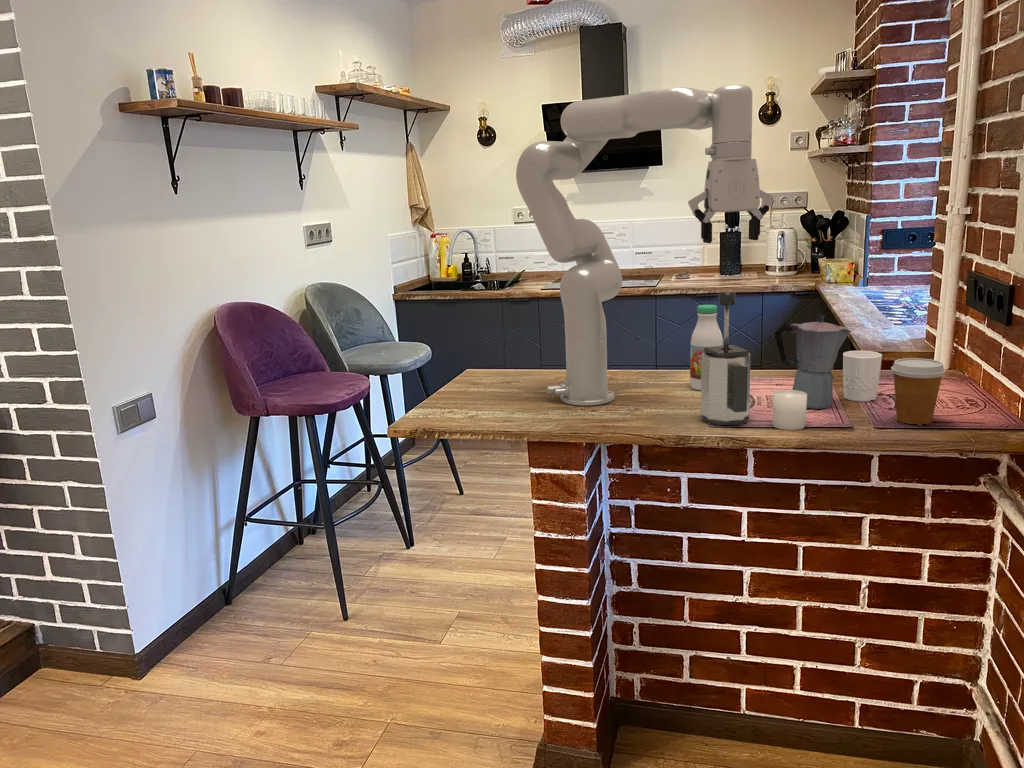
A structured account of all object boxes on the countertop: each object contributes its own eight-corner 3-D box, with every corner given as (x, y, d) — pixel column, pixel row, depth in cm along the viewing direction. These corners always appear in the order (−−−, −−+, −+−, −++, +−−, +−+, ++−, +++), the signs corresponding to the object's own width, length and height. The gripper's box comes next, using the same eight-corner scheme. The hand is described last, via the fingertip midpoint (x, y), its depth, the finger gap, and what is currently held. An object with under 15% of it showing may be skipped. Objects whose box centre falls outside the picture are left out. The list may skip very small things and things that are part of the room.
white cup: (873, 393, 181) (876, 350, 179) (883, 402, 174) (886, 357, 171) (837, 393, 183) (839, 350, 180) (845, 402, 175) (847, 358, 173)
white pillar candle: (782, 431, 157) (783, 399, 156) (766, 422, 164) (767, 391, 162) (812, 428, 159) (813, 395, 157) (794, 419, 165) (795, 388, 163)
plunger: (717, 363, 160) (719, 295, 157) (703, 357, 166) (704, 291, 163) (749, 360, 161) (750, 292, 158) (733, 354, 168) (734, 289, 164)
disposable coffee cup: (878, 421, 161) (882, 363, 158) (902, 411, 166) (906, 355, 163) (926, 431, 153) (931, 370, 151) (949, 420, 159) (954, 362, 156)
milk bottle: (688, 383, 197) (689, 303, 193) (720, 383, 196) (722, 302, 192) (691, 391, 190) (691, 308, 185) (724, 391, 189) (726, 307, 184)
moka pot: (851, 410, 169) (856, 317, 164) (775, 410, 172) (778, 318, 167) (842, 399, 178) (847, 310, 173) (770, 398, 181) (773, 311, 176)
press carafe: (718, 431, 159) (719, 357, 156) (693, 415, 171) (693, 346, 167) (763, 426, 161) (765, 353, 158) (735, 411, 172) (736, 342, 169)
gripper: (695, 153, 151) (695, 245, 155) (782, 149, 153) (779, 239, 157) (682, 155, 159) (682, 242, 163) (765, 151, 161) (763, 237, 165)
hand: (730, 241), depth 160 cm, fingers open, 9 cm apart
